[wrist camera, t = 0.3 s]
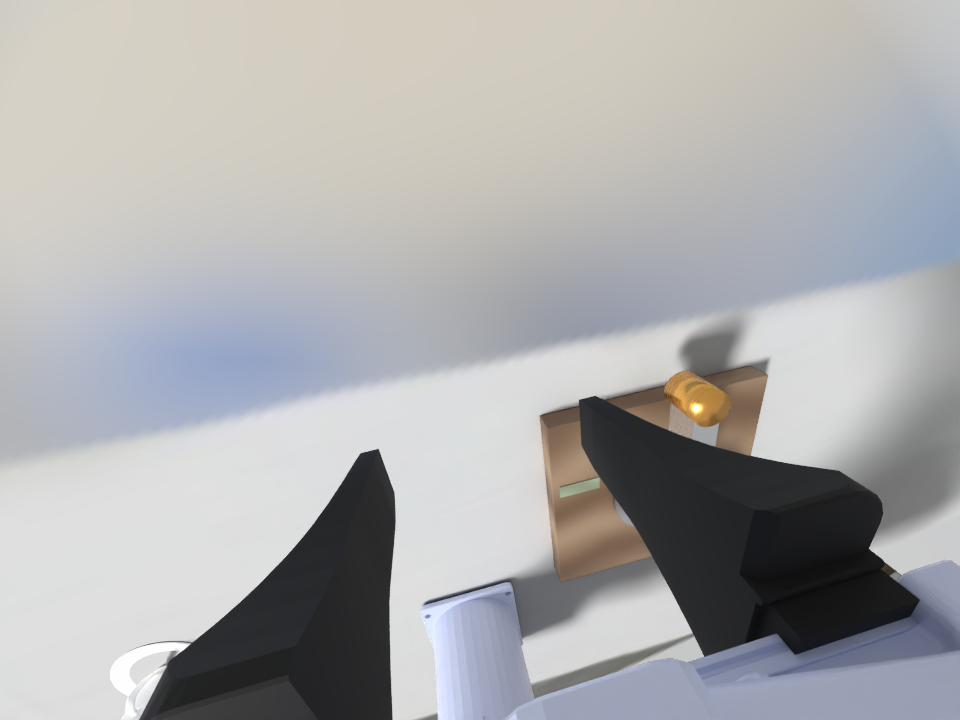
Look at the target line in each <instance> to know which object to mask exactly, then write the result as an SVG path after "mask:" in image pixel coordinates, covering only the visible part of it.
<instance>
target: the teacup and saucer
mask: <svg viewBox="0 0 960 720" xmlns="http://www.w3.org/2000/svg"><path fill="white" fill-rule="evenodd" d="M190 644H192V643H184V642H163V643H155V644H150V645H145V646H142V647H139V648H136V649H134V650H131V651H129V652H127V653H126V654H124V655H123V656H121V657H120V658H119V659H118V660H117V661H116V662H115V663H114V665H113V666H112V669H111V672H110V677H111V681H112V683H113V684H114V686H115V687H116V688H117V689H118V690H119V691H121V692H122V693H124V694H126V695H128V696H129V697H128V699H127V702H126V708H125V709H126V713H125V715H124V716H123V718H122V720H139V719H140V717H141V715H142V713H143V711H144V709H145V707H146V705H147V703H148V701H149V699H150V697H151V696H152V694H153V692H154V690H155V688H156V686H157V684H158V682H159V680H160V678H161V676H162V674H163V672H164V670H165V669H166V667H167V665H164V666H161V667H159V668H158V669H157V670H155V671H154V672H152V673H151V674H149V675H148V676H146V677H145V678H144V679H143V680H142V681H141V682H140V683H139V684H138V685H136V684H134V683H133V682H132V680H131V679H130V677H129V670H130V668H131V666H132V665H133V664H134V663H135V662H136V661H137V660H139V659H140V658H142V657H144V656H147V655H149V654H153V653H157V652H162V651H183V650H184V649H185V648H187V647H188V646H189V645H190Z"/></svg>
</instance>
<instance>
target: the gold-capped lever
mask: <svg viewBox="0 0 960 720" xmlns="http://www.w3.org/2000/svg"><path fill="white" fill-rule="evenodd" d="M664 396H665V398H666V400H667V401H669V402H670V403H671V408H670V419H669V431H672V432H674V433H676V434H679V435H682V436H684V437H687V438H690V439H693V440H696V441H699V442H702V443H705V444H708V445H711V446H715V445H716V439H717V433H718V427H719V422H721V421H722V420H723V419H724V418H725V417H726V416H727V415H728V413H729V411H730V409H731V406H732V400H731V398H730V396H729V395H728V394H726V393H725V392H723V391H721V390H720V389H718V388H717V387H715V386H713V385H712V384H710V383H709V382H707V381H705V380H704V379H702V378H701V377H699V376H697V375H696V374H694V373H693V372H690V371H682V372H679V373H677V374H675V375H674V376H673V377H672V378H671V379H670V380H669V381H668V382H667V384H666V386H665V389H664Z"/></svg>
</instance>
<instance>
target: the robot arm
mask: <svg viewBox="0 0 960 720" xmlns="http://www.w3.org/2000/svg"><path fill="white" fill-rule="evenodd" d="M579 409H580V428H581V445H582V447H583V449H584V451H585V453H586V455H587V457H588V459H589V461H590V463H591V464H592V466H593V468H594V470H595V471H596V473H597V474H598V475H599V477H600V478H601V480H602V481H603V483H604V484H605V485H606V487H607V488H608V490H609V491H610V492H611V494H612V495H613V497H614V498H615V499H616V501H617V502H618V504H619V505H620V506H621V508H622V509H623V511H624V512H625V513H626V515H627V516H628V517H629V519H630V520H631V522H632V523H633V525H634V526H635V528H636V529H637V531H638V533H639V534H640V536H641V538H642V539H643V541H644V543H645V545H646V546H647V548H648V550H649V552H650V553H651V555H652V557H653V558H654V560H655V562H656V564H657V566H658V568H659V569H660V571H661V573H662V575H663V577H664V578H665V580H666V582H667V584H668V586H669V588H670V589H671V591H672V593H673V595H674V597H675V599H676V601H677V603H678V605H679V607H680V609H681V611H682V613H683V614H684V616H685V618H686V620H687V622H688V624H689V626H690V628H691V630H692V632H693V634H694V636H695V638H696V640H697V642H698V644H699V646H700V648H701V650H702V652H703V655H704V657H703V658H700V659H696V660H693V661H690V662H684V661H680V660H676V659H673V658H667V659H661V660H655V661H649V662H646V663H643V664H640V665H637V666H634V667H631V668H628V669H625V670H621V671H618V672H615V673H612V674H609V675H606V676H603V677H600V678H596V679H593V680H590V681H587V682H584V683H581V684H578V685H575V686H572V687H568V688H565V689H562V690H559V691H556V692H553V693H550V694H547V695H543V696H540V697H538V698H536V699H534V695H533V691H532V687H531V683H530V679H529V675H528V671H527V668H526V664H525V660H524V656H523V652H522V648H521V646H522V644H523V642H522V636H521V631H520V625H519V620H518V614H517V609H516V603H515V598H514V592H513V587H512V584H511V583H510V582H505V583H502V584H498V585H495V586H491V587H488V588H484V589H480V590H477V591H473V592H470V593H466V594H463V595H459V596H455V597H452V598H448V599H445V600H441V601H438V602H434V603H431V604H427V605H424V606H422V607H421V616H422V619H423V622H424V624H425V627H426V630H427V632H428V635H429V638H430V640H431V643H432V645H433V648H434V655H435V672H436V689H437V706H438V720H960V566H958V565H957V564H956V563H954V562H953V561H950V560H943V561H940V562H937V563H934V564H931V565H928V566H924V567H921V568H918V569H915V570H912V571H909V572H907V573H905V574H903V575H902V576H901V577H899V578H898V579H897V580H894V579H893V578H892V577H891V576H889V575H888V574H887V573H885V572H884V571H883V570H882V569H880V568H883V567H884V565H885V563H884V561H883V560H882V559H881V558H880V557H878V556H877V555H876V554H875V553H873V552H872V551H871V550H869V547H870V544H871V542H872V540H873V538H874V535H875V533H876V531H877V529H878V527H879V524H880V522H881V518H882V515H883V508H882V502H881V500H880V499H879V497H878V496H877V495H876V494H874V493H873V492H871V491H870V490H868V489H866V488H865V487H863V486H862V485H860V484H859V483H857V482H856V481H854V480H852V479H851V478H849V477H848V476H846V475H845V474H843V473H842V472H840V471H836V470H829V469H822V468H815V467H808V466H801V465H794V464H788V463H783V462H778V461H773V460H767V459H762V458H758V457H753V456H749V455H745V454H741V453H737V452H733V451H729V450H725V449H722V448H718V447H715V446H711V445H708V444H705V443H702V442H699V441H696V440H693V439H690V438H687V437H684V436H682V435H679V434H676V433H674V432H672V431H669V430H667V429H664V428H662V427H659V426H657V425H655V424H653V423H650V422H648V421H646V420H644V419H642V418H639V417H637V416H635V415H633V414H631V413H629V412H627V411H625V410H623V409H621V408H619V407H617V406H615V405H613V404H611V403H609V402H607V401H605V400H603V399H601V398H598V397H596V396H593V397H589V398H585V399H581V400H579ZM395 522H396V520H395V495H394V491H393V488H392V485H391V482H390V480H389V477H388V474H387V471H386V468H385V466H384V463H383V460H382V457H381V455H380V452H379V449H377V450H372V451H368V452H364V453H361V454H360V455H359V457H358V458H357V460H356V461H355V463H354V464H353V466H352V468H351V469H350V471H349V472H348V474H347V476H346V477H345V479H344V480H343V482H342V484H341V485H340V487H339V488H338V490H337V491H336V493H335V494H334V496H333V497H332V499H331V500H330V502H329V503H328V505H327V506H326V508H325V509H324V510H323V512H322V513H321V514H320V516H319V517H318V519H317V520H316V521H315V523H314V524H313V525H312V527H311V528H310V529H309V531H308V532H307V533H306V534H305V535H304V537H303V538H302V539H301V540H300V541H299V543H298V544H297V545H296V546H295V547H294V548H293V549H292V551H291V552H290V553H289V554H288V555H287V556H286V557H285V558H284V559H283V560H282V562H281V563H280V564H279V565H278V566H277V567H276V568H275V569H274V570H273V571H272V572H271V573H270V574H269V575H268V576H267V577H266V578H265V579H264V580H263V581H262V582H261V583H260V584H259V585H258V586H257V587H256V588H255V589H254V590H253V591H252V592H251V593H250V594H249V595H248V596H246V597H245V598H244V599H243V600H242V601H241V602H240V603H239V604H238V605H237V606H236V607H234V608H233V609H232V610H231V611H230V612H229V613H228V614H227V615H225V616H224V617H223V618H222V619H221V620H220V621H218V622H217V623H216V624H215V625H214V626H213V627H211V628H210V629H209V630H208V631H206V632H205V633H204V634H203V635H201V636H200V637H199V638H198V639H196V640H195V641H194V642H193V643H192V644H190V645H189V646H188V647H187V648H185V649H184V650H183V651H182V652H180V653H179V654H178V655H177V656H175V657H174V658H173V659H171V660H170V661H169V663H168V665H167V667H166V669H165V670H164V672H163V674H162V676H161V678H160V680H159V682H158V684H157V686H156V688H155V690H154V692H153V694H152V696H151V697H150V699H149V701H148V703H147V705H146V707H145V709H144V711H143V713H142V715H141V717H140V719H139V720H392V697H391V672H390V625H389V598H390V582H391V570H392V559H393V547H394V535H395Z"/></svg>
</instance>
